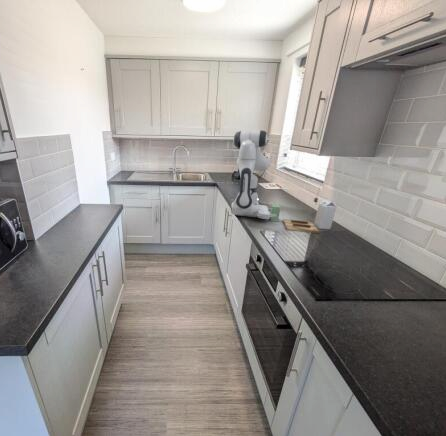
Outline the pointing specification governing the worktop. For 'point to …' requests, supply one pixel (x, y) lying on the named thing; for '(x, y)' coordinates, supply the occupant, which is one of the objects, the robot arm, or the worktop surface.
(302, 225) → the base pad
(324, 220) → the milk carton
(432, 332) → the worktop surface
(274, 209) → the back pad
